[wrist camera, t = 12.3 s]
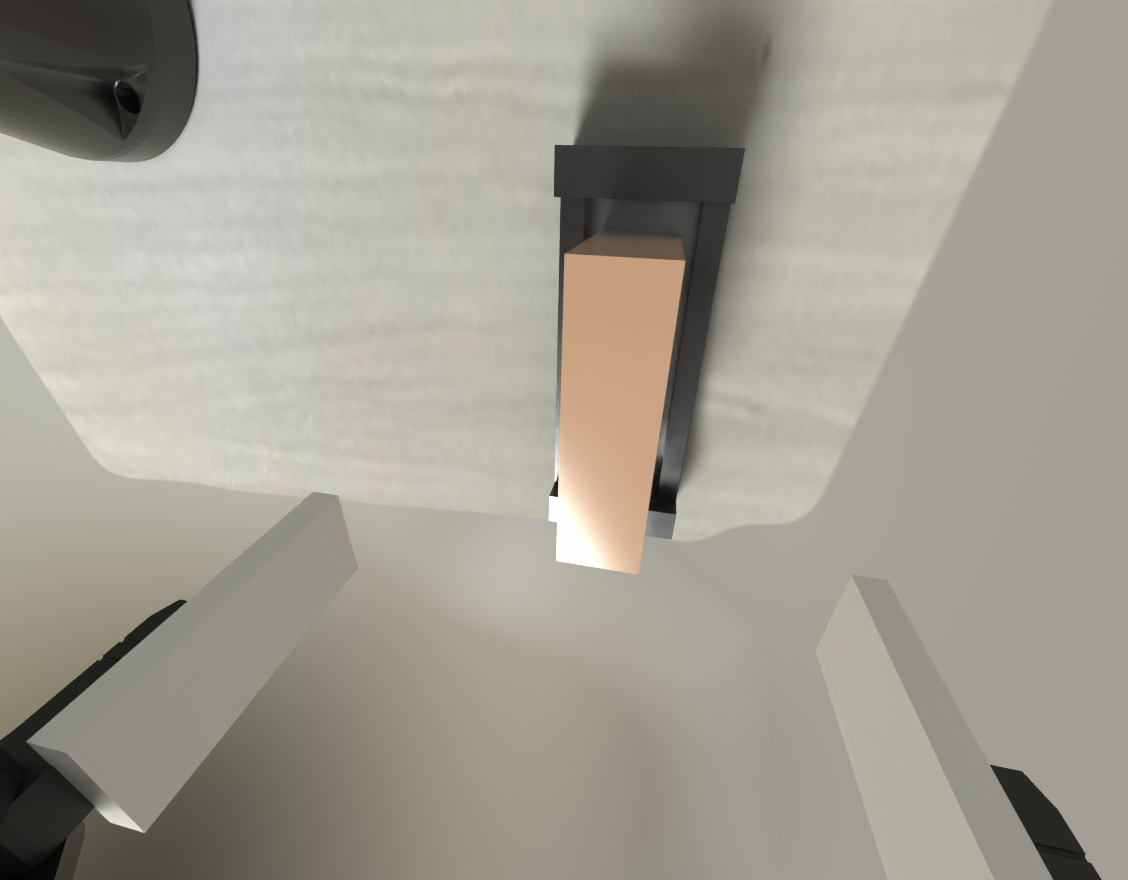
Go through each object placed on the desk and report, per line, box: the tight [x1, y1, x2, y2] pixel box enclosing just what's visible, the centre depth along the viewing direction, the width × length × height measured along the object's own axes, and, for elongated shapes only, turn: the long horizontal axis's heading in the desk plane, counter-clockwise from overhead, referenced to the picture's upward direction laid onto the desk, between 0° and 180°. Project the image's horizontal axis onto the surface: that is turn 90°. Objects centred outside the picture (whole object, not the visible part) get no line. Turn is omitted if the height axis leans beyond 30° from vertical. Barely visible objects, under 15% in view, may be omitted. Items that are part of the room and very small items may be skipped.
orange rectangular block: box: [556, 230, 685, 574], centre depth 23 cm, size 14×4×10 cm, turn 179°
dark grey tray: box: [549, 145, 745, 540], centre depth 26 cm, size 21×8×4 cm, turn 179°
